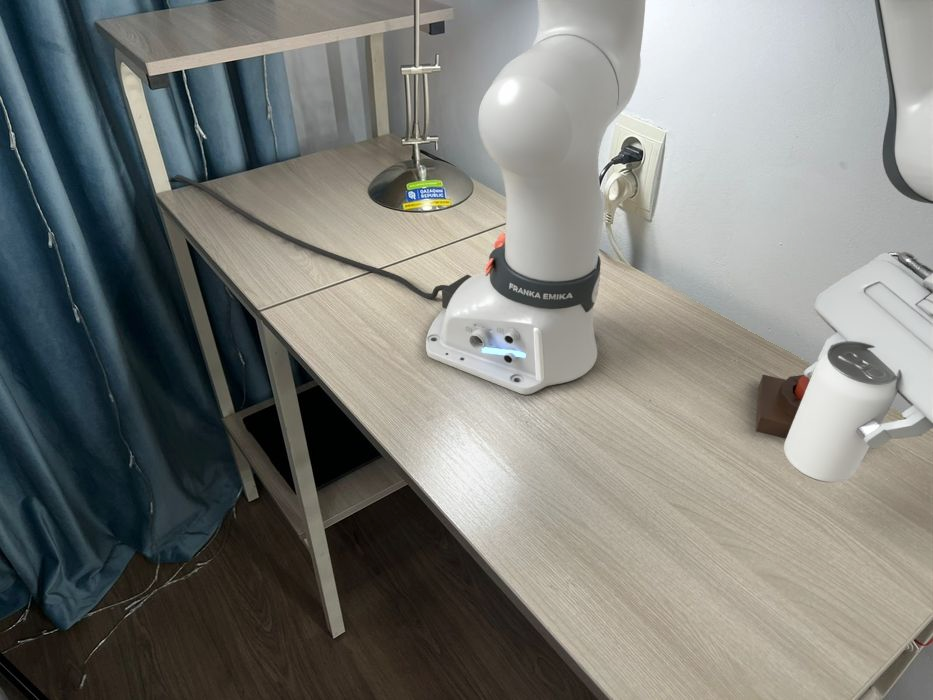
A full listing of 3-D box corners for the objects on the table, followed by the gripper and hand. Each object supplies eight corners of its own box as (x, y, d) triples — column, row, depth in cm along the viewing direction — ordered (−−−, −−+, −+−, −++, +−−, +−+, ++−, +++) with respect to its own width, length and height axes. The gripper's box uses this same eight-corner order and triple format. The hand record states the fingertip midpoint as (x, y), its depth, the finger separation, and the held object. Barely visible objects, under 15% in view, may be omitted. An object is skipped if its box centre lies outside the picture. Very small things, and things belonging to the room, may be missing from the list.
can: (826, 496, 62) (876, 397, 55) (767, 451, 66) (805, 353, 59) (870, 467, 65) (923, 369, 57) (811, 425, 69) (852, 329, 61)
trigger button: (794, 402, 78) (799, 391, 77) (794, 382, 81) (798, 371, 80) (828, 410, 77) (834, 398, 76) (827, 390, 80) (832, 378, 79)
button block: (755, 431, 80) (764, 405, 77) (758, 387, 86) (766, 362, 83) (849, 453, 77) (862, 428, 74) (845, 407, 83) (857, 382, 80)
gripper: (884, 224, 63) (758, 324, 67) (1083, 366, 47) (901, 483, 52) (907, 261, 66) (786, 353, 71) (1100, 404, 51) (928, 511, 55)
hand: (836, 409), depth 61 cm, fingers closed on can, 6 cm apart
